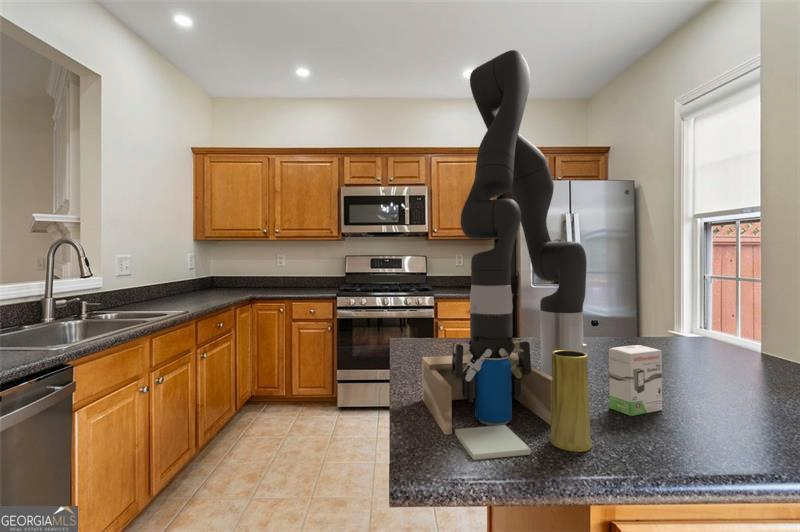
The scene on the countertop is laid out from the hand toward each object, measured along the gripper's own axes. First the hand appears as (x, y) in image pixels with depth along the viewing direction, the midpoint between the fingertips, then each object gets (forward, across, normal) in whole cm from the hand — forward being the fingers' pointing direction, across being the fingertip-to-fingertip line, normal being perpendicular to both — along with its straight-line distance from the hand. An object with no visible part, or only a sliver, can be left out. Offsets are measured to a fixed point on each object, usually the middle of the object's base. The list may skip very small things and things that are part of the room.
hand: (491, 399), depth 72 cm
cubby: (+4, 0, -4) cm, 6 cm away
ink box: (+4, -29, 0) cm, 30 cm away
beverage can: (+4, 0, 0) cm, 4 cm away
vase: (+4, -9, +11) cm, 15 cm away
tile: (+4, +4, +9) cm, 10 cm away
